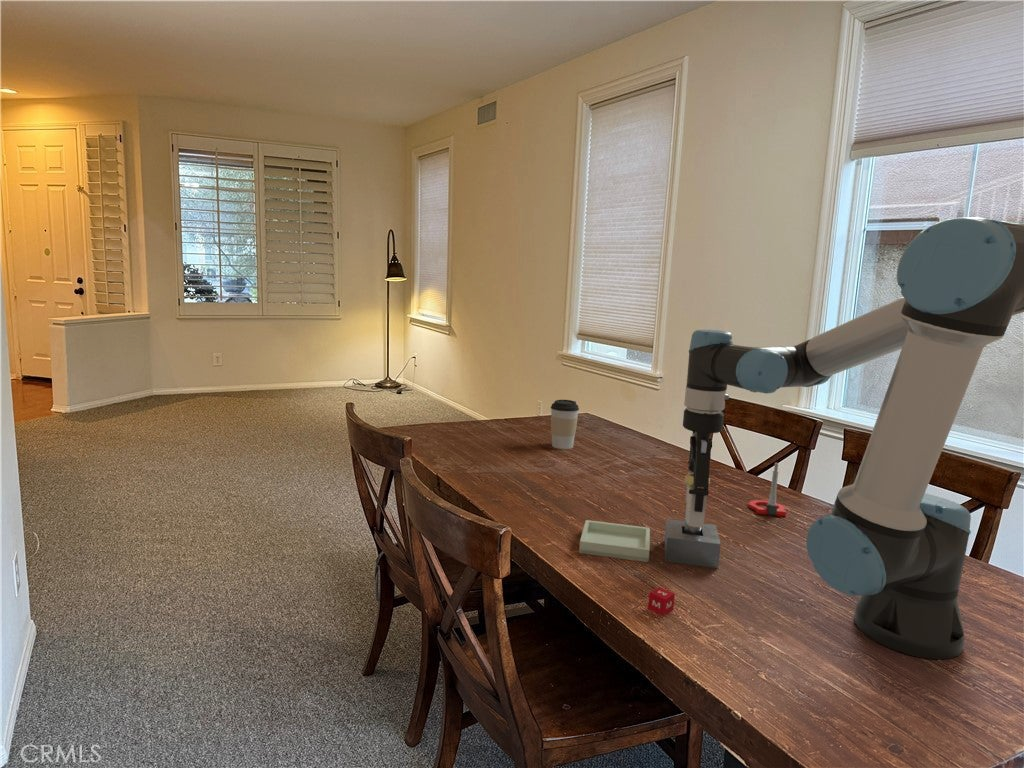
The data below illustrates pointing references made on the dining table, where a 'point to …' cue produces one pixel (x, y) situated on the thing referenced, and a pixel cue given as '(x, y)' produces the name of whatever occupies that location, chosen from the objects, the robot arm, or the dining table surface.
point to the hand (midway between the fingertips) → (693, 513)
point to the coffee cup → (563, 423)
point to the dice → (661, 601)
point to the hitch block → (691, 545)
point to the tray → (615, 540)
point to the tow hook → (770, 500)
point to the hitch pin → (687, 528)
